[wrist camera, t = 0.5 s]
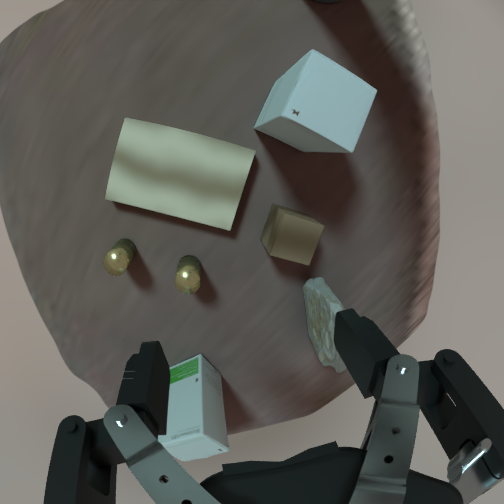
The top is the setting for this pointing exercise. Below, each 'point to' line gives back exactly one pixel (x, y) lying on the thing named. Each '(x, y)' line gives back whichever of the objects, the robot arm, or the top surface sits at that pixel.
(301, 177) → the top surface
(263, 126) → the supplement box
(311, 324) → the stone
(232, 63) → the top surface
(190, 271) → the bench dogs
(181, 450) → the skincare box
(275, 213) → the walnut block
